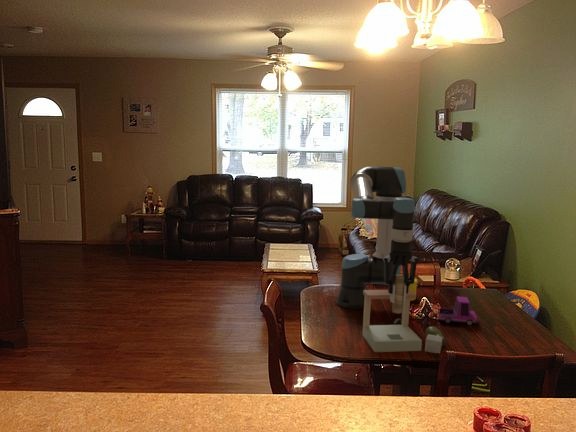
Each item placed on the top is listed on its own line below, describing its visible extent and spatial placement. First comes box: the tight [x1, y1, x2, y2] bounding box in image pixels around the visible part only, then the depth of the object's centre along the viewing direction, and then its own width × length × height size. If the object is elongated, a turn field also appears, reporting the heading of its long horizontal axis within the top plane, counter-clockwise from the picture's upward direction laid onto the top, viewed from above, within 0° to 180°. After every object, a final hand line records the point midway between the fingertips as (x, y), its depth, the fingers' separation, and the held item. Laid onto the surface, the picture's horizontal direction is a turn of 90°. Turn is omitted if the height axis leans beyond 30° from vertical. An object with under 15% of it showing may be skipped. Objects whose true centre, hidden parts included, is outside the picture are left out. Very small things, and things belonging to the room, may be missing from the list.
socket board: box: [361, 324, 423, 353], centre depth 200 cm, size 16×18×4 cm
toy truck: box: [437, 295, 478, 326], centre depth 226 cm, size 11×16×10 cm
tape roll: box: [409, 278, 418, 302], centre depth 255 cm, size 10×10×9 cm
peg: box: [391, 273, 404, 314], centre depth 193 cm, size 4×4×14 cm
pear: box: [424, 326, 446, 347], centre depth 203 cm, size 6×5×10 cm
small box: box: [424, 334, 444, 354], centre depth 195 cm, size 6×6×5 cm
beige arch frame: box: [362, 289, 417, 328], centre depth 204 cm, size 6×19×14 cm, turn 98°
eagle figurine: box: [393, 314, 412, 325], centre depth 217 cm, size 8×7×9 cm
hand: (397, 301), depth 194 cm, fingers closed on peg, 3 cm apart
